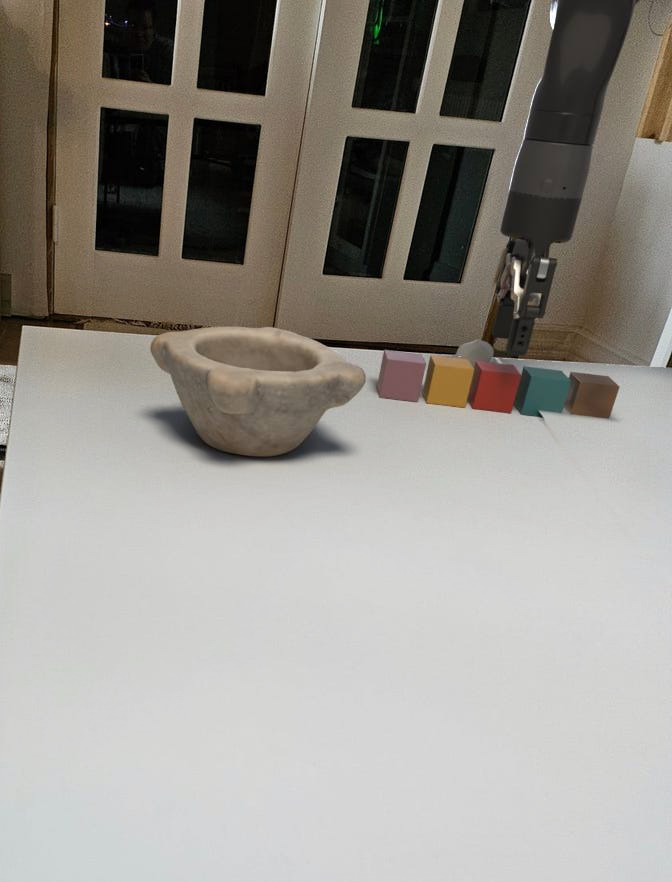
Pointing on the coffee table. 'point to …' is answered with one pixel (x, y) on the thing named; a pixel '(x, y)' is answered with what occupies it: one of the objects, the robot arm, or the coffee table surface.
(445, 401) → the block
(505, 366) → the red block
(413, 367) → the block
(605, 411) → the block
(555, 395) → the block
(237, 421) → the mortar
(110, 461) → the coffee table surface
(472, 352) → the pale two-lobed sculpture
